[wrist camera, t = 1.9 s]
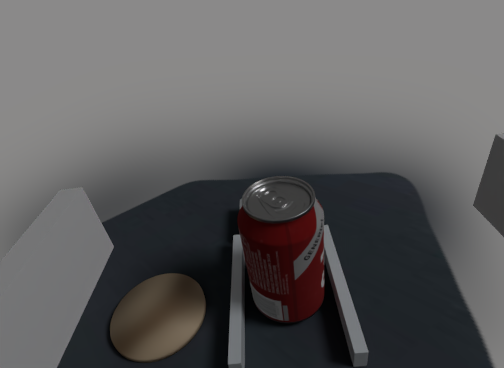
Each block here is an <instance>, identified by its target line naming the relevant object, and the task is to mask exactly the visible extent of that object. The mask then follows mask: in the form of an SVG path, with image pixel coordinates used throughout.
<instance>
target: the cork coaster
mask: <svg viewBox="0 0 504 368" xmlns="http://www.w3.org/2000/svg"><path fill="white" fill-rule="evenodd" d="M205 313H206V300H205V296H204V293H203V291H202V288H201V287H200V285H199V284H198V283H197V282H196V281H195V280H194V279H192V278H191V277H189V276H186V275H183V274H177V273H168V274H162V275H158V276H155V277H152V278H150V279H147V280H145V281H144V282H142V283H140V284H139V285H137V286H136V287H134V288H133V289H132V290H131V291H130V292H129V293H127V295H126V296H125V297H124V298H123V299H122V300H121V302H120V303H119V304H118V306H117V308H116V310H115V312H114V314H113V316H112V319H111V324H110V336H111V340H112V342H113V345H114V346H115V348H116V349H117V350H118V352H119V353H120V354H121V355H122V356H123V357H125V358H127V359H128V360H131V361H134V362H140V363H148V362H155V361H159V360H162V359H165V358H167V357H169V356H171V355H173V354H175V353H176V352H178V351H180V350H181V349H182V348H183V347H185V346H186V345H187V344H188V343H189V342H190V341H191V340H192V339H193V337H194V336H195V335H196V334H197V332H198V330H199V329H200V327H201V325H202V323H203V320H204V317H205Z"/></svg>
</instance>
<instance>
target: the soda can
mask: <svg viewBox="0 0 504 368" xmlns="http://www.w3.org/2000/svg"><path fill="white" fill-rule="evenodd" d="M237 222H238V228H239V233H240V238H241V242H242V247H243V252H244V257H245V262H246V266H247V271H248V276H249V281H250V285H251V290H252V295H253V299H254V303H255V305H256V307H257V308H258V310H259V311H260V312H261V313H262V314H263V315H264V316H266V317H267V318H269V319H271V320H273V321H276V322H279V323H297V322H301V321H304V320H306V319H308V318H310V317H311V316H313V315H314V314H315V313H316V312H317V311H318V310H319V308H320V307H321V305H322V302H323V299H324V212H323V209H322V206H321V204H320V203H319V202H318V201H317V199H316V198H315V193H314V190H313V188H312V187H311V186H310V185H309V184H308V183H307V182H305V181H303V180H301V179H298V178H295V177H289V176H275V177H269V178H265V179H262V180H260V181H258V182H256V183H254V184H252V185H251V186H250V187H249V188H248V189H247V190H246V191H245V192H244V194H243V197H242V207H241V209H240V211H239V213H238V218H237Z"/></svg>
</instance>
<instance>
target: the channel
mask: <svg viewBox="0 0 504 368" xmlns="http://www.w3.org/2000/svg"><path fill="white" fill-rule="evenodd" d="M324 260H325V264H326V267H327V271H328V275H329V279H330V282H331V286H332V290H333V293H334V297H335V301H336V304H337V308H338V312H339V315H340V319H341V323H342V326H343V330H344V334H345V337H346V341H347V345H348V349H349V352H350V356H351V360H352V363H353V367H357V366H367V359H368V349H367V346H366V343H365V340H364V337H363V334H362V330H361V327H360V324H359V321H358V318H357V315H356V312H355V309H354V305H353V302H352V299H351V296H350V293H349V290H348V287H347V284H346V281H345V277H344V274H343V271H342V268H341V265H340V262H339V259H338V256H337V252H336V249H335V246H334V243H333V240H332V237H331V234H330V231H329V228H328V225H324ZM228 366H229V368H245V257H244V252H243V247H242V242H241V238H240V235H233V255H232V279H231V302H230V325H229V348H228Z"/></svg>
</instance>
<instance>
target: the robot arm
mask: <svg viewBox="0 0 504 368" xmlns="http://www.w3.org/2000/svg"><path fill="white" fill-rule="evenodd" d="M473 206H474V207H475V208H476V209H477V210H478V211H479V212H480V213H481V214H482V215H483V216H484V217H485V218H486V219H487V220H488V221H489V222H490V223H491V224H492V225H493V226H494V227H495V228H496V229H497V230H498V231H499V232H500V234H501V235H502V236H503V237H504V133H502V134H496V135H495V139H494V142H493V145H492V148H491V151H490V154H489V157H488V160H487V164H486V167H485V170H484V173H483V176H482V179H481V182H480V185H479V188H478V192H477V195H476V198H475V201H474V204H473ZM113 248H114V246H113V244H112V242H111V240H110V238H109V237H108V235H107V233H106V231H105V229H104V227H103V225H102V223H101V221H100V220H99V218H98V216H97V214H96V212H95V210H94V208H93V207H92V205H91V203H90V201H89V199H88V197H87V195H86V193H85V191H84V189H83V188H82V187H80V188H73V189H64V190H60V191H59V192H58V193H57V194H56V196H55V197H54V198H53V199H52V200H51V201H50V203H49V204H48V205H47V206H46V208H45V209H44V210H43V211H42V212H41V213H40V215H39V216H38V217H37V218H36V220H35V221H34V222H33V223H32V224H31V225H30V227H29V228H28V229H27V230H26V231H25V233H24V234H23V235H22V236H21V237H20V239H19V240H18V241H17V242H16V243H15V244H14V246H13V247H12V248H11V249H10V250H9V252H8V253H7V254H6V255H5V256H4V258H3V259H2V260H1V261H0V368H57V366H58V364H59V362H60V360H61V358H62V355H63V353H64V351H65V349H66V347H67V345H68V343H69V341H70V339H71V336H72V334H73V332H74V330H75V328H76V326H77V324H78V322H79V319H80V317H81V315H82V313H83V311H84V309H85V307H86V305H87V303H88V300H89V298H90V296H91V294H92V292H93V290H94V288H95V286H96V284H97V281H98V279H99V277H100V275H101V273H102V271H103V269H104V267H105V264H106V262H107V260H108V258H109V256H110V254H111V252H112V250H113Z"/></svg>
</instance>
